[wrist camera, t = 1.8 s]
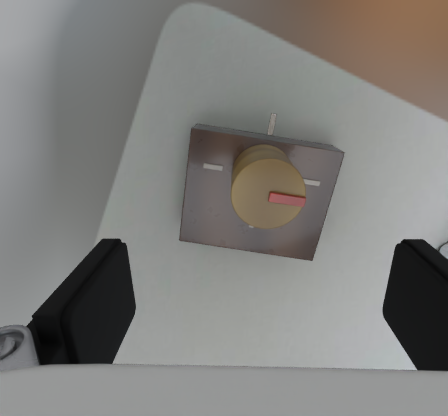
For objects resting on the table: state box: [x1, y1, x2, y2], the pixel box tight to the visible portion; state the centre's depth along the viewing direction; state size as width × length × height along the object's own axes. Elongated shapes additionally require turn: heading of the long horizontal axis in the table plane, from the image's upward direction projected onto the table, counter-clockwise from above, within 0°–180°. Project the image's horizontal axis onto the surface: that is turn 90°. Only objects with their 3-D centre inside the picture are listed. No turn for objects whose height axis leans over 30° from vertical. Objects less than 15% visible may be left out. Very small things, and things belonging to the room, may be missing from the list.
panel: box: [179, 113, 344, 261], centre depth 24 cm, size 11×11×3 cm
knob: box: [231, 144, 306, 229], centre depth 20 cm, size 4×4×5 cm
